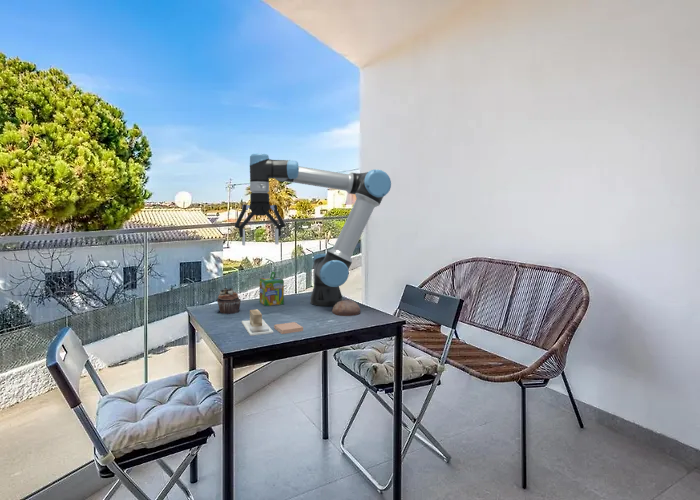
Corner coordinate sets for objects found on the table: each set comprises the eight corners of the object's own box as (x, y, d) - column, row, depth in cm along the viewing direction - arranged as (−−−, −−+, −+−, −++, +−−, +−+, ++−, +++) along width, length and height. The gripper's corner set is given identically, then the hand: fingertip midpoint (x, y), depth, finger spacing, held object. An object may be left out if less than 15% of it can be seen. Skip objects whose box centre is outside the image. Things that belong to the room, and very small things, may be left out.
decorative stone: (331, 310, 177) (331, 297, 177) (358, 309, 179) (358, 297, 178) (333, 317, 166) (332, 303, 165) (362, 316, 167) (362, 303, 166)
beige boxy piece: (261, 321, 155) (261, 308, 154) (269, 331, 143) (269, 317, 142) (245, 323, 152) (245, 310, 152) (252, 333, 140) (251, 318, 140)
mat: (262, 320, 159) (262, 318, 159) (273, 333, 142) (273, 331, 142) (241, 322, 156) (241, 321, 156) (250, 335, 139) (250, 334, 139)
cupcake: (239, 314, 169) (239, 290, 168) (215, 314, 167) (214, 290, 166) (242, 308, 178) (241, 286, 177) (219, 309, 177) (218, 286, 176)
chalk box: (259, 302, 190) (258, 271, 188) (278, 300, 194) (277, 269, 193) (264, 306, 182) (264, 274, 180) (284, 304, 186) (284, 272, 185)
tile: (294, 322, 152) (303, 327, 145) (294, 326, 152) (303, 331, 145) (274, 324, 148) (281, 330, 141) (274, 329, 149) (281, 335, 142)
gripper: (229, 191, 157) (230, 246, 159) (292, 193, 167) (292, 244, 169) (226, 192, 164) (228, 244, 166) (287, 193, 174) (287, 243, 176)
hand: (260, 244), depth 167 cm, fingers open, 13 cm apart
